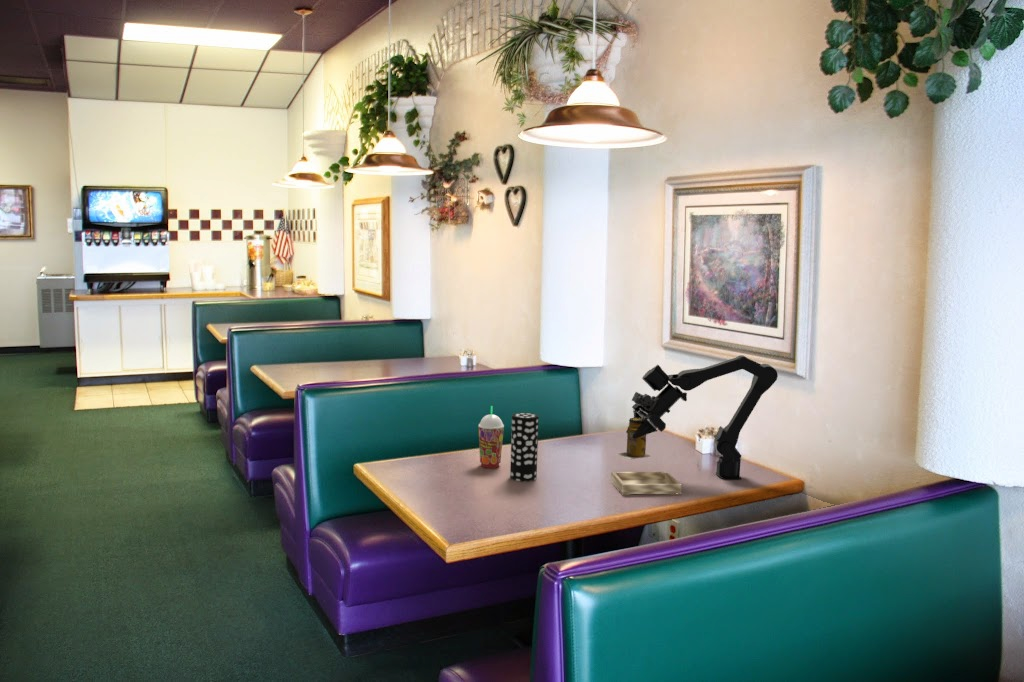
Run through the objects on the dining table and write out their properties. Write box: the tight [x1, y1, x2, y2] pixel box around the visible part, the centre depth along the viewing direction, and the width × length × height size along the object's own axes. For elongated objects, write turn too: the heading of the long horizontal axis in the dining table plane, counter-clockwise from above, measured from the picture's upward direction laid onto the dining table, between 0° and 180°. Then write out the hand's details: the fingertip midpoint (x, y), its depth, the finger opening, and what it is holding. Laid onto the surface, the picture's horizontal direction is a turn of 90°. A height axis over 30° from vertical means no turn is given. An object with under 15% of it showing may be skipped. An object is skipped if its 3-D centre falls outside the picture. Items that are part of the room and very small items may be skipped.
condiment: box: [617, 417, 651, 460], centre depth 279 cm, size 7×8×12 cm
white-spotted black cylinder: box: [509, 412, 540, 482], centre depth 271 cm, size 8×8×20 cm
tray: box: [610, 471, 682, 496], centre depth 266 cm, size 18×14×3 cm
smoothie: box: [477, 405, 505, 469], centre depth 284 cm, size 8×8×20 cm
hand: (630, 435), depth 279 cm, fingers closed on condiment, 6 cm apart
